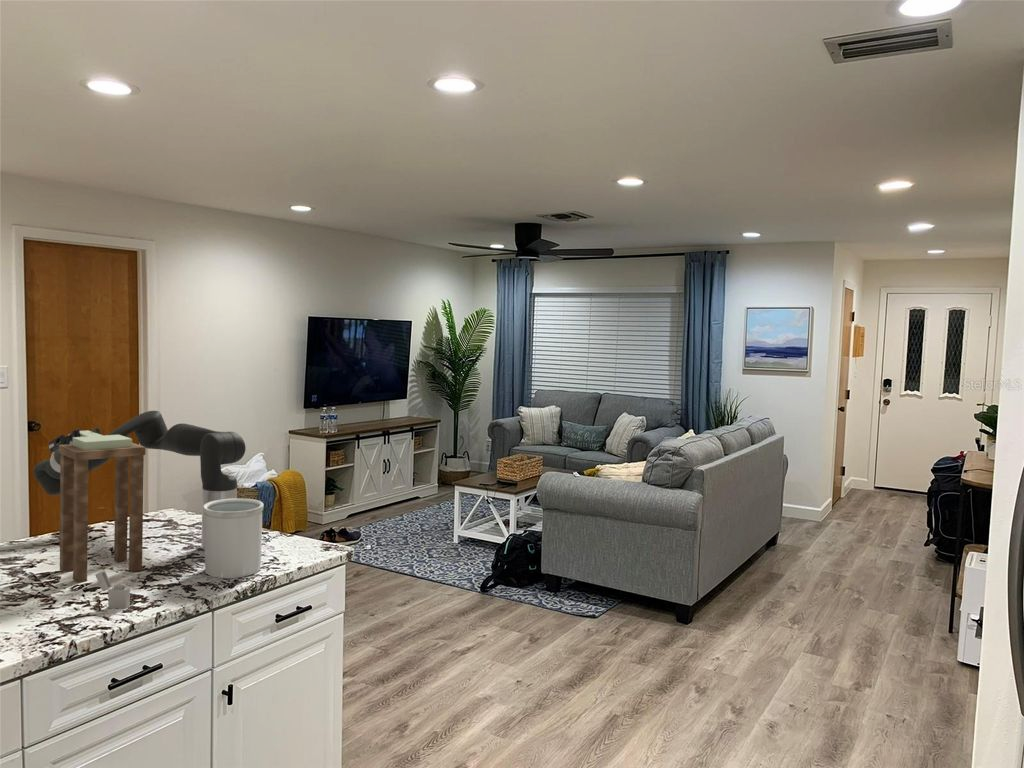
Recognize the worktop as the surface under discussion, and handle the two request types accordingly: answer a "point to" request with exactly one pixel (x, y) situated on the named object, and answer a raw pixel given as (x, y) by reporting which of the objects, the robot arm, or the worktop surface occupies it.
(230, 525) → the utensil holder
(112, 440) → the green block
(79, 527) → the stool
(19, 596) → the worktop surface
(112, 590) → the lighter
